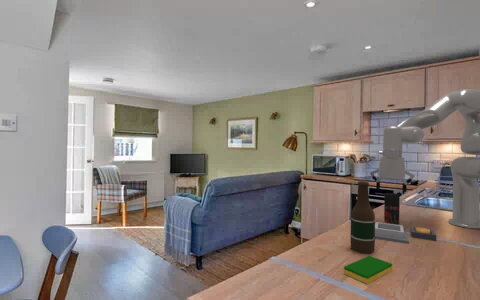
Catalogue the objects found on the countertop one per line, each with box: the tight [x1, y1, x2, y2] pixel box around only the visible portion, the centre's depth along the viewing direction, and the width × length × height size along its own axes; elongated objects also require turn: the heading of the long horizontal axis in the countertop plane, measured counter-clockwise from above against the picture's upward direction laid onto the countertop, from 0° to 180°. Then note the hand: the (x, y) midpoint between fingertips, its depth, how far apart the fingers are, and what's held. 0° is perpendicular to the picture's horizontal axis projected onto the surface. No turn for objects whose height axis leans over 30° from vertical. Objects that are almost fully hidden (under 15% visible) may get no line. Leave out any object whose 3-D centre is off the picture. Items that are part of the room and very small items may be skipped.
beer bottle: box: [350, 180, 376, 255], centre depth 93 cm, size 8×8×24 cm
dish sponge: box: [343, 255, 393, 285], centre depth 77 cm, size 7×14×2 cm, turn 125°
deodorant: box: [383, 192, 401, 225], centre depth 119 cm, size 6×6×15 cm
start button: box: [415, 226, 430, 233], centre depth 108 cm, size 5×5×2 cm
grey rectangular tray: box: [375, 221, 410, 245], centre depth 108 cm, size 14×13×4 cm
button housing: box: [409, 226, 437, 242], centre depth 108 cm, size 8×8×2 cm
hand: (390, 192), depth 119 cm, fingers open, 9 cm apart
